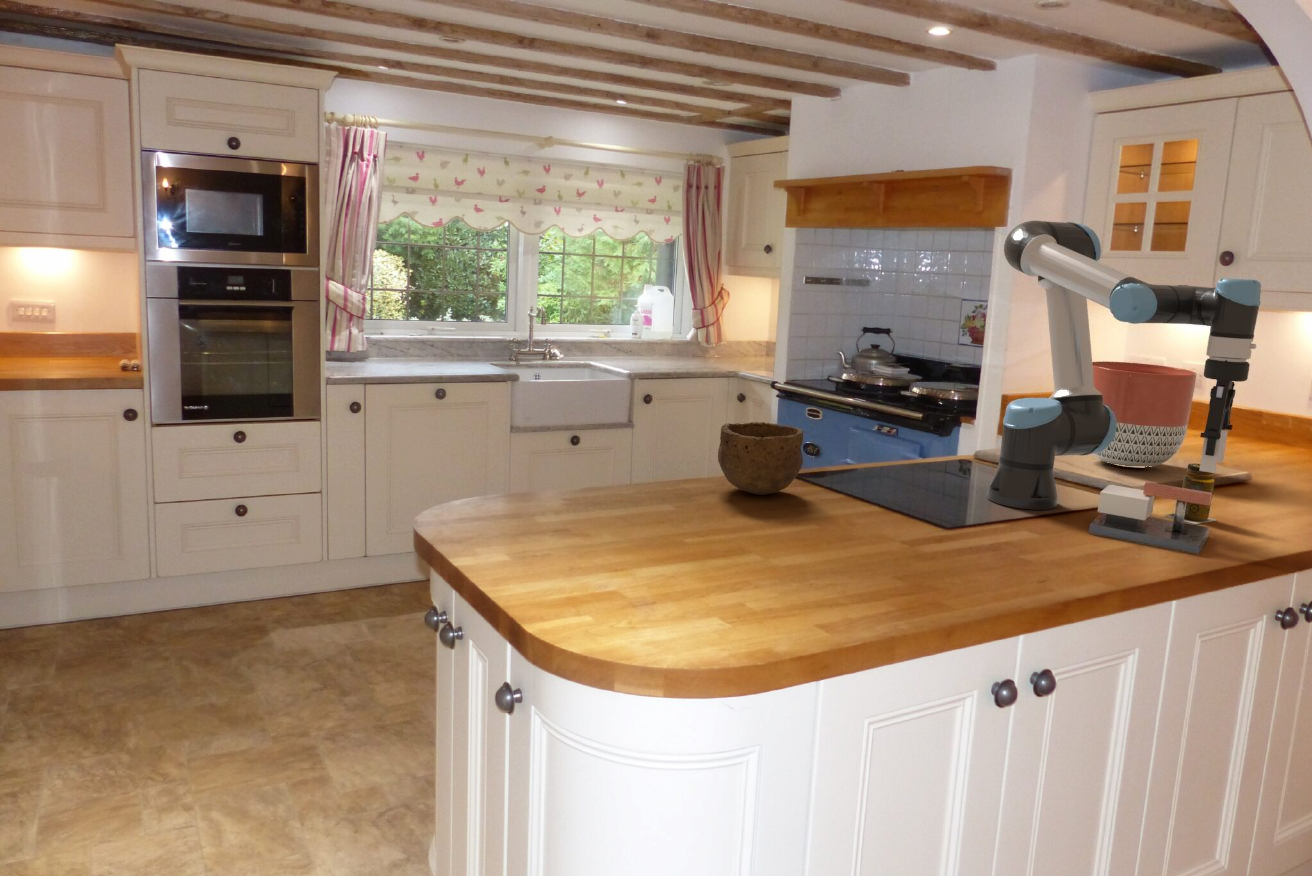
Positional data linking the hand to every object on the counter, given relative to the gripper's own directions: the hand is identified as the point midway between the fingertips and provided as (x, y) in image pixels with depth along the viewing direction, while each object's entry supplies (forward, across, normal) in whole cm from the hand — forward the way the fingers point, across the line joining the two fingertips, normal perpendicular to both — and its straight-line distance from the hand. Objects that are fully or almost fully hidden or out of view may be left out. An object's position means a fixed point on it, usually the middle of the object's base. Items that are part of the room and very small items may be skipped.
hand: (1211, 466), depth 199 cm
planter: (+16, +73, +26) cm, 79 cm away
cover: (+12, 0, +14) cm, 19 cm away
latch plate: (+16, 0, +9) cm, 19 cm away
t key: (+14, 0, +4) cm, 15 cm away
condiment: (+16, +22, +4) cm, 28 cm away
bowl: (+16, -29, +85) cm, 91 cm away
